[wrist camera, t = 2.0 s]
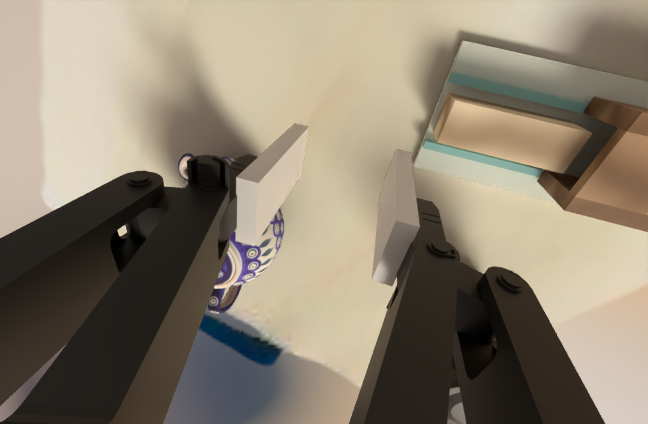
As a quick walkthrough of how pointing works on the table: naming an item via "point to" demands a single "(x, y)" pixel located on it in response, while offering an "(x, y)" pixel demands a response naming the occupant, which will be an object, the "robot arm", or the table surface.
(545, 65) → the railed board with endplate
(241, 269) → the teapot
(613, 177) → the block
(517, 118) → the light wood bar
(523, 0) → the table surface
